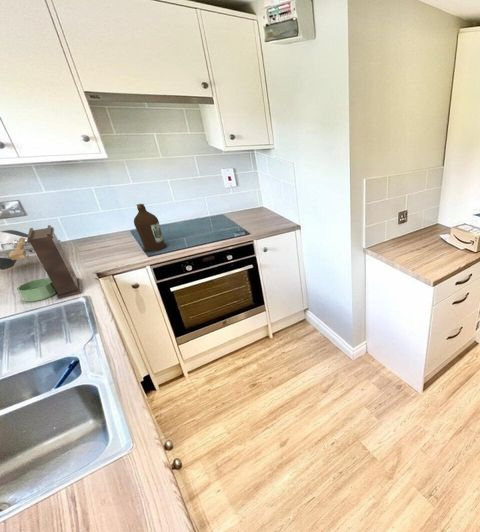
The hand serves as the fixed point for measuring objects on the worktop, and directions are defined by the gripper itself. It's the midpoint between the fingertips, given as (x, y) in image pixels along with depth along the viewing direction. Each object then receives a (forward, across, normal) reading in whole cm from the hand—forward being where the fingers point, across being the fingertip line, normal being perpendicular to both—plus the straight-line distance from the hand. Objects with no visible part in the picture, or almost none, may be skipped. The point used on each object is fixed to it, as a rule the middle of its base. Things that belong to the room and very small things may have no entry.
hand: (21, 241), depth 136 cm
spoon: (+5, 0, -5) cm, 7 cm away
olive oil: (-19, -44, -11) cm, 49 cm away
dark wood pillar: (+5, -9, -25) cm, 27 cm away
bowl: (+4, 0, -25) cm, 25 cm away
